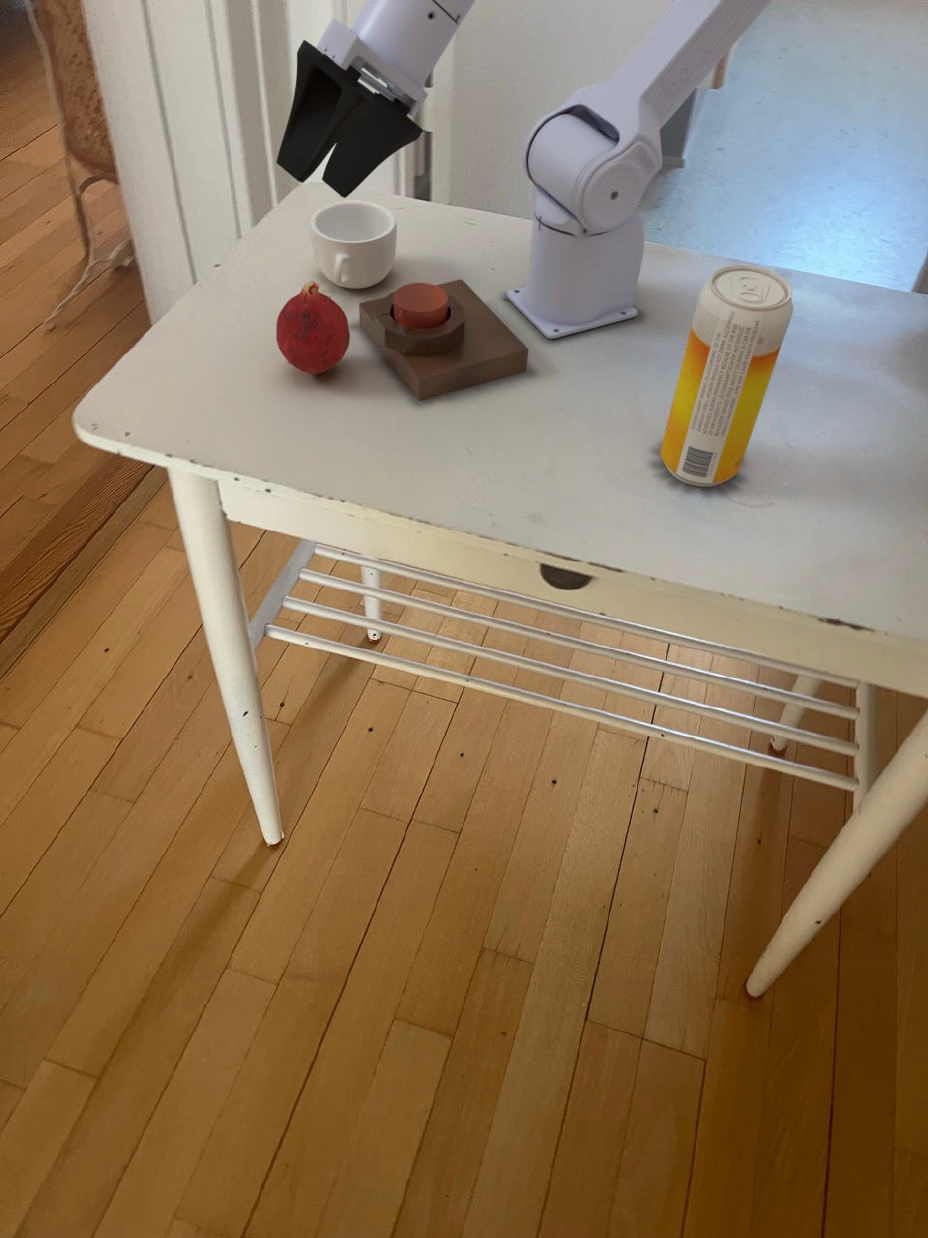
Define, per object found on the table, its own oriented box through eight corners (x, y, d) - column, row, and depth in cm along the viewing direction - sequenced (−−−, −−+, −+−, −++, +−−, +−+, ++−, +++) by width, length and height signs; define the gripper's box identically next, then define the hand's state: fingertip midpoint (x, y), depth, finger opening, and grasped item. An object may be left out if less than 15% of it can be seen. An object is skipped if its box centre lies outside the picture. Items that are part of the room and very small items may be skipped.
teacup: (326, 250, 91) (322, 195, 87) (405, 260, 91) (404, 205, 87) (297, 305, 85) (292, 248, 81) (381, 316, 84) (380, 259, 80)
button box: (460, 300, 87) (462, 259, 84) (526, 371, 80) (530, 329, 77) (352, 327, 83) (350, 285, 80) (411, 403, 76) (411, 360, 73)
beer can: (739, 447, 74) (798, 269, 63) (736, 498, 71) (798, 317, 59) (662, 434, 75) (706, 255, 64) (654, 483, 71) (700, 302, 60)
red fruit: (340, 399, 76) (333, 309, 70) (271, 388, 77) (259, 298, 71) (359, 358, 80) (355, 270, 74) (294, 348, 81) (284, 259, 75)
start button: (432, 296, 80) (433, 277, 79) (456, 323, 78) (457, 304, 76) (385, 308, 79) (384, 289, 77) (407, 335, 76) (407, 316, 75)
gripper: (411, -6, 69) (311, 162, 74) (333, -89, 55) (218, 123, 60) (485, 56, 69) (380, 220, 74) (426, -12, 55) (302, 194, 60)
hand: (312, 181), depth 67 cm, fingers open, 7 cm apart
